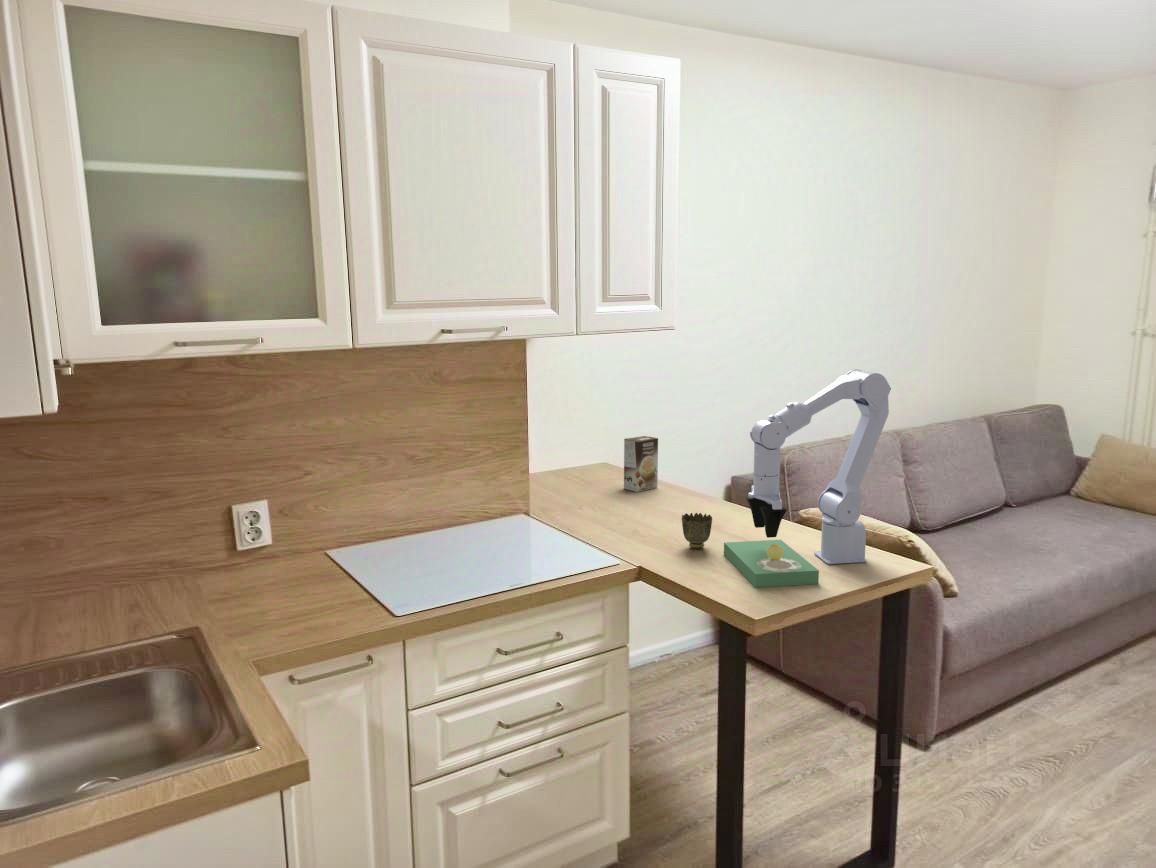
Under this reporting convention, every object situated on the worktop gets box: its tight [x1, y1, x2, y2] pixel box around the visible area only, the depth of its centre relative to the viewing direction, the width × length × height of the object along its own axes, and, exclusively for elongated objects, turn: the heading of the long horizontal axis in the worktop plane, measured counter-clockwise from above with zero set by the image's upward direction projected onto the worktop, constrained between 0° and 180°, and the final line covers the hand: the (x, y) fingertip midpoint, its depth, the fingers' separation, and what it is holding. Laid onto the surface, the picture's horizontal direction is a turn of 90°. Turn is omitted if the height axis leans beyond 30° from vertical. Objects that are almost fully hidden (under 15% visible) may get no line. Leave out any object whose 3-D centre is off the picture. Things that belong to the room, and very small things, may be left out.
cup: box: [681, 512, 713, 550], centre depth 202 cm, size 8×7×8 cm
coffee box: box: [623, 435, 659, 493], centre depth 260 cm, size 9×6×16 cm
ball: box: [767, 544, 783, 560], centre depth 184 cm, size 4×4×4 cm
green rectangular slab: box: [723, 539, 820, 589], centre depth 187 cm, size 14×22×3 cm, turn 8°
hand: (765, 531), depth 189 cm, fingers open, 7 cm apart
